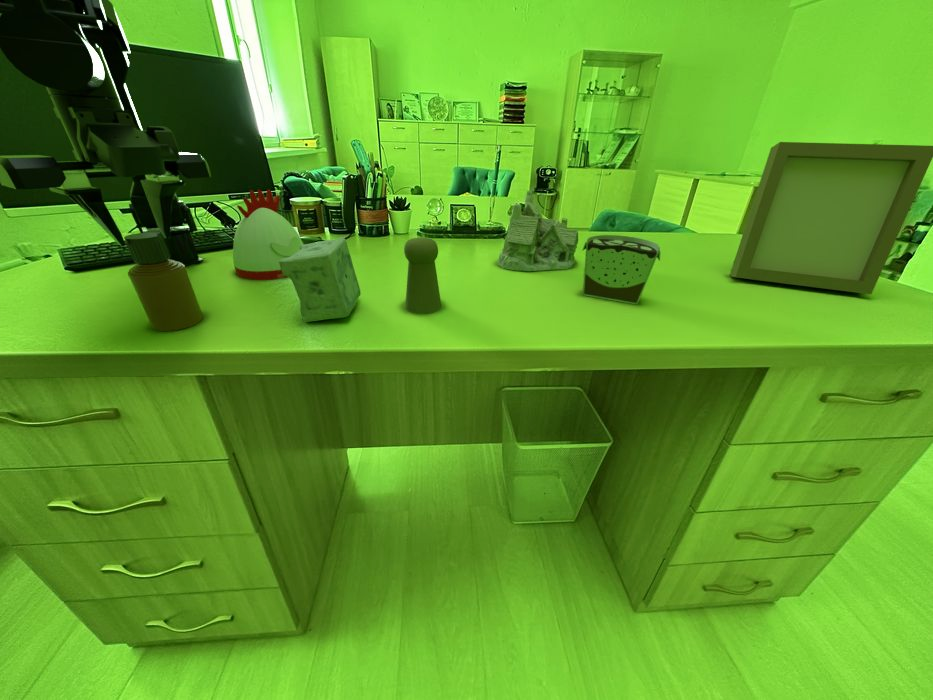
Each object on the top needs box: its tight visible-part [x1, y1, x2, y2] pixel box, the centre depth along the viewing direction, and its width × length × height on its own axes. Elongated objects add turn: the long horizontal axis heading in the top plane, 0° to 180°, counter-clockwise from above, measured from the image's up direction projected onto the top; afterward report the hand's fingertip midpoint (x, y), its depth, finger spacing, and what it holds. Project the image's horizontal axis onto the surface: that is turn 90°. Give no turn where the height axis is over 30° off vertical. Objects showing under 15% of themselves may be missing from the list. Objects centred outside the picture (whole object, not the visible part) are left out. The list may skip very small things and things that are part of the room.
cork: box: [403, 237, 443, 315], centre depth 58 cm, size 6×6×11 cm
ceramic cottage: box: [497, 190, 579, 272], centre depth 80 cm, size 16×16×15 cm
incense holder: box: [279, 237, 361, 323], centre depth 56 cm, size 10×8×10 cm
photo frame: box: [728, 141, 933, 295], centre depth 72 cm, size 15×22×25 cm
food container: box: [582, 234, 662, 305], centre depth 65 cm, size 12×6×10 cm, turn 65°
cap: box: [123, 232, 170, 264], centre depth 49 cm, size 4×4×3 cm
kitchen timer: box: [232, 189, 304, 281], centre depth 72 cm, size 14×14×15 cm
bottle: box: [127, 259, 204, 332], centre depth 51 cm, size 6×6×12 cm
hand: (145, 241), depth 48 cm, fingers open, 5 cm apart
